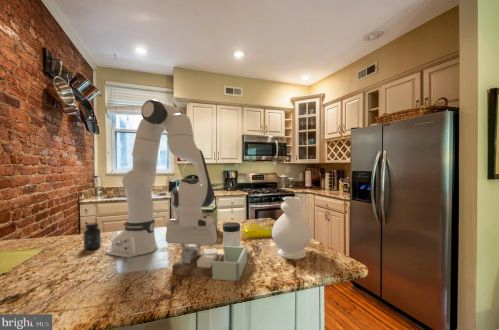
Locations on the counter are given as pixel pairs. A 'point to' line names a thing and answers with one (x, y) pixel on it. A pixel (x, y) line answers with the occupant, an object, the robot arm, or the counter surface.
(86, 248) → the supplement bottle
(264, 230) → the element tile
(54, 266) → the counter surface
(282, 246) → the decorative vase
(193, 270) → the board
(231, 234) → the jar
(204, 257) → the tile near
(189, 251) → the grey block
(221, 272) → the box
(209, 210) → the protein box
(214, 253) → the tile far
